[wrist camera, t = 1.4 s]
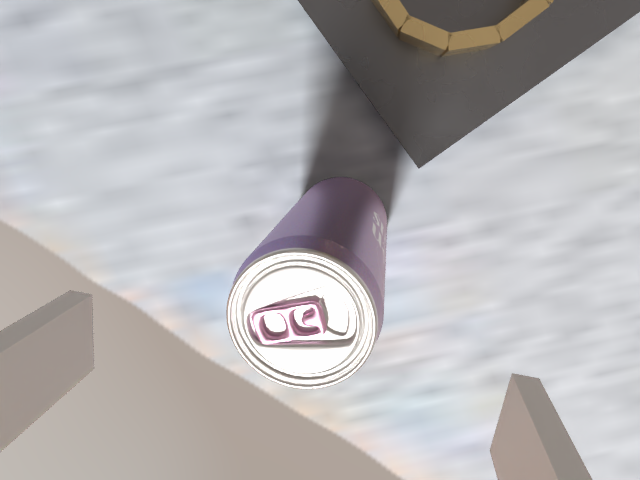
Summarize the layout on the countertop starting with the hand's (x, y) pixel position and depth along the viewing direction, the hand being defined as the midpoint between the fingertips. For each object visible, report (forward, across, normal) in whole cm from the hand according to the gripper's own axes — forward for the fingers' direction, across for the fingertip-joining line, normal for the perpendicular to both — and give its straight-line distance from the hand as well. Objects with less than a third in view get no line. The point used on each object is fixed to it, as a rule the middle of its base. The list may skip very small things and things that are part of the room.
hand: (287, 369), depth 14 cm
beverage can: (+18, 0, 0) cm, 18 cm away
